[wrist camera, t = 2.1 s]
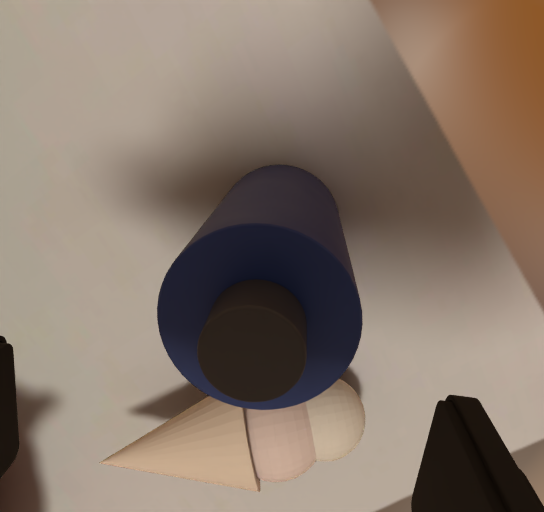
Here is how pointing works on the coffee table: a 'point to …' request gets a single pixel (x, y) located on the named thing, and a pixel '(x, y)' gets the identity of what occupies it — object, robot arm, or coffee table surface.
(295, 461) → the ice cream cone
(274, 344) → the water bottle
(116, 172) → the coffee table surface
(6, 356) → the robot arm
